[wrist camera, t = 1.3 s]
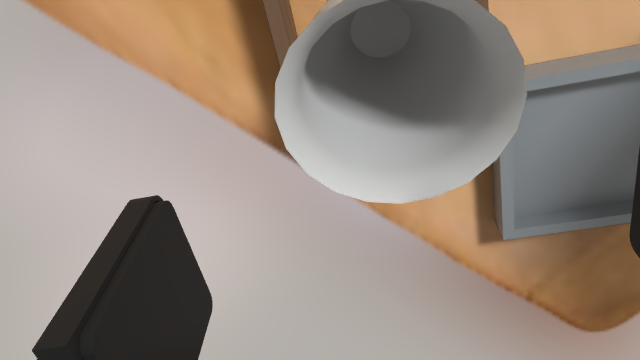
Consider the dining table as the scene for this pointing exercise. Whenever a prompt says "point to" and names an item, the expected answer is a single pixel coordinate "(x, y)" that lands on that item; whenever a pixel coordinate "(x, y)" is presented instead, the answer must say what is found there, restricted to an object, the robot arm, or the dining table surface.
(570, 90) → the tray
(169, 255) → the robot arm
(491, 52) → the chalice
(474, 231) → the dining table surface
